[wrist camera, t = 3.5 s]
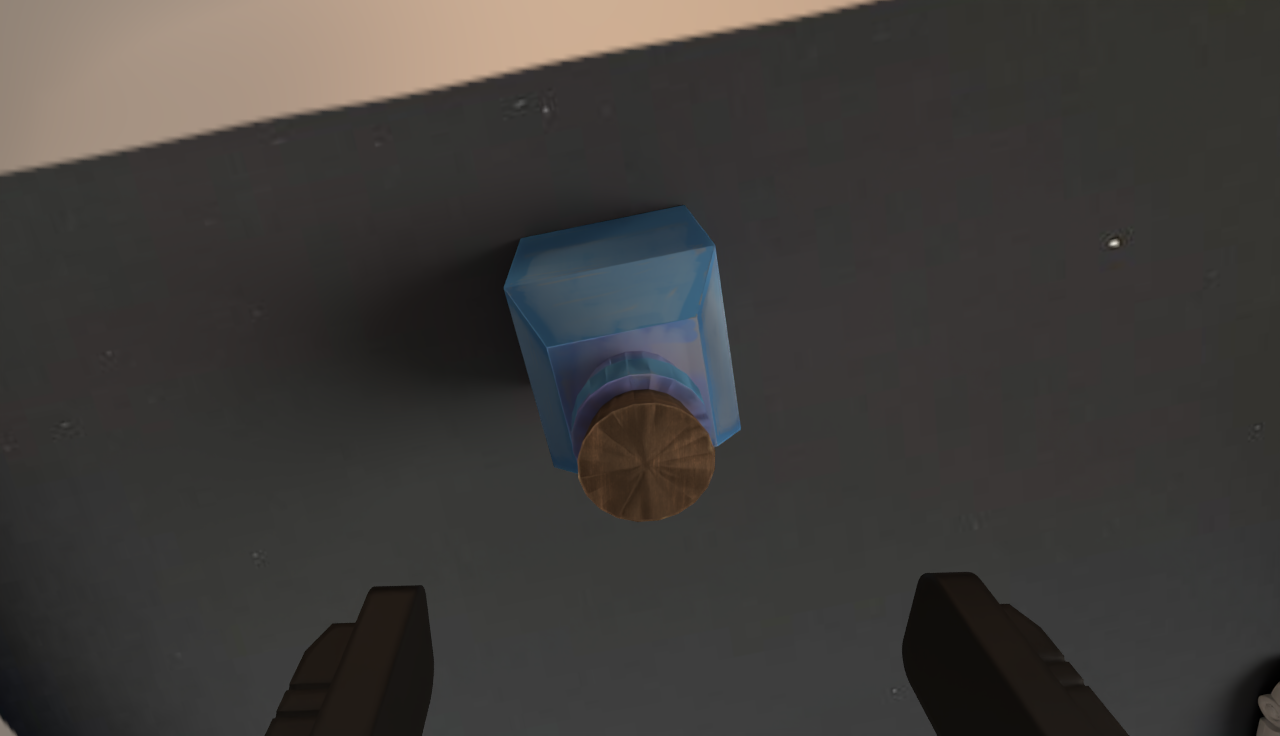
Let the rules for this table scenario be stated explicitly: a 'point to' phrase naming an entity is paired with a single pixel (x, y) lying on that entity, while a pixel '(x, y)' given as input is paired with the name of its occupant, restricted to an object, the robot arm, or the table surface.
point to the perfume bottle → (628, 357)
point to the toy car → (1270, 713)
